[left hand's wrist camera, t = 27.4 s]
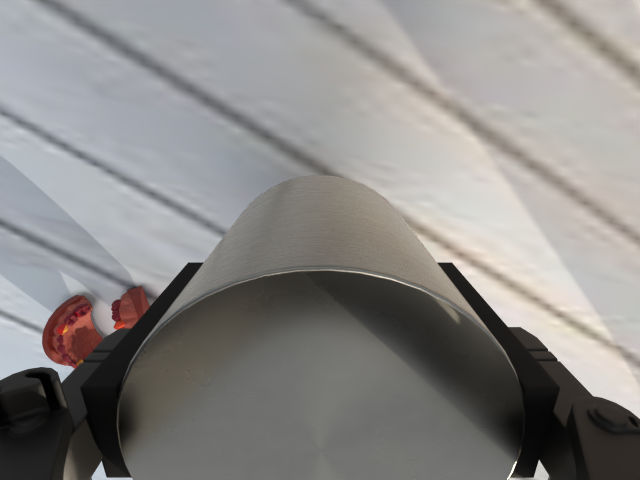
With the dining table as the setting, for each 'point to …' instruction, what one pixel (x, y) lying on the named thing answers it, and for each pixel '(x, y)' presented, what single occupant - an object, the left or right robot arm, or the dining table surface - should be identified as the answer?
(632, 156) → the dining table surface
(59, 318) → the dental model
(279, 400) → the tin
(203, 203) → the dining table surface
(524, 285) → the dining table surface
